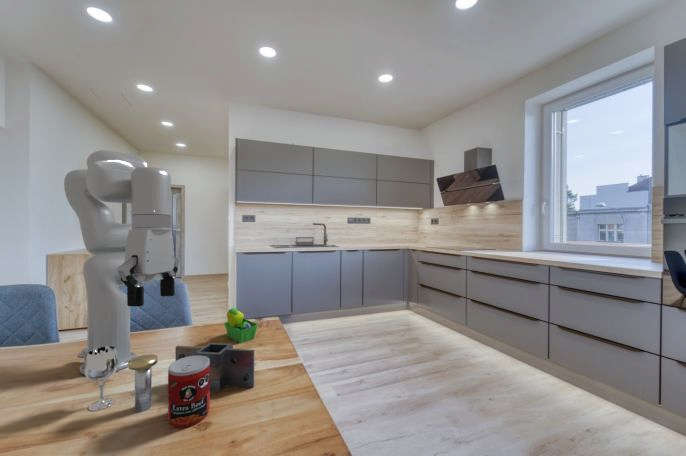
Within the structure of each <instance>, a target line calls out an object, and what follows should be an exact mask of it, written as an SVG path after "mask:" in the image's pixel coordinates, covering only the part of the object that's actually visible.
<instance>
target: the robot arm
mask: <svg viewBox="0 0 686 456" xmlns="http://www.w3.org/2000/svg"><path fill="white" fill-rule="evenodd" d="M86 166H87V169H75V170H74V169H73V170H70V171H69V172H68V173H66V174H65V176H64V181H63V187H64V193H65V197H66V200H67V202H68V204H69V206H70V207H71V208H72V210H73V211H74V213H75V214H76V217H77V218H78V221H79V226H80V230H81V235H82V240H83V244H84V246H85V250H86V251H87V252H88V253H89V254H91V255H92V256H90V257H88V258H87V259H86V260H85V261H84V263H83V266H82V273H83V279H84V284H85V288H86V299H87V301H86V302H87V307H86V308H87V310H86V311H87V347H84V348H83V349H82V350H81V352H79V353H78V354H77V358H78V359H84V360H83V363H82V364H81V365H80V367H79V372H80V373H81V374H82V375H84V376H86V375H85V371H84V368H85V362H86V358H87V355H88V352H89V351H91V350H93V349H96V348H100V347H105V346H113V347H115V349H116V352H117V356H118V367H117V370H116V371H115V372H118V371H121V370H123V369H125V368H129V361H130V360H132V359H133V358H136V357H138V356H137V354H136V353H135V352H133V351H131V307H143V306H145V295H144V294H145V293H144V292H145V288H144V286H143V285H142V284H144V283H150V282H152V281H154V280H155V279H157V277H158V275H160V277H161V279H160V280H159V281H160V282H159V283H160V286H159V287H160V293H159V295H160V296H161V297H173V296H175V295H176V294H175V291H176V290H175V282H176V281H175V279H176V278H177V272H178V269H179V264H180V261H181V260H180V259H179V258H178V257H176V256H175V245H174V238H173V233H172V178H171V174H170V173H169V171H167V170H165V169H163V168H158V167H151V166H150V167H149V164H148V161H146V159H145V158H143V157H142V156H140V155H136V154H131V153H124V152H118V151H113V150H106V149H104V150H102V149H101V150H97V151H94V152H92V153H90V154H89V155H88V157H87V159H86ZM105 203H115V204H130V206H131V210H130V211H131V213H130V214H131V217H130V218H131V220H130V221H131V223H119V222H117V220H116V218H115V214H114V212H113V210H112V209H111V208H110V207H109V206H107V205H106V204H105ZM120 287H124V288H126V293H125V292H123V291H122V290H121V288H120Z"/></svg>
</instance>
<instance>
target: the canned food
mask: <svg viewBox="0 0 686 456" xmlns="http://www.w3.org/2000/svg"><path fill="white" fill-rule="evenodd" d="M167 373H168V374H167V409H168V410H167V412H168V413H167V419H168V422H169V424H170V426H171V427H173V428H178V429H179V428H180V429H183V428H189V427H191V426H195V425H197V424H198V423H200V422H201V421H203V420H204V419H205V418H206V417H207V416H208V414H209V411H210V407H211V406H210V403H211V402H210V400H211V398H210V396H211V393H210V361H209V358H208V357H206V356H200V355H196V356H189V357H185V358H181V359H179V360H177V361H173V362H172V363H170V364H169V366H168V371H167Z"/></svg>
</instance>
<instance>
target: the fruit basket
mask: <svg viewBox="0 0 686 456" xmlns="http://www.w3.org/2000/svg"><path fill="white" fill-rule="evenodd" d="M226 317H227V321H225V322H223V325H224V326H225V330H226V333H227V337H228V338H230V339H232V340H235V341H236V342H238V343H240V344H243V343H246V342H249V341H251V340H254V339H255V336H256V332H257V329H258V327H259V324H258V323H256V322H253V321H251V320H248V319H247V318H244V317H245V316H244V313H243V312H241V310H240V311H239V310H237V308H236V307H231V308H229V309H228V311H227V313H226Z"/></svg>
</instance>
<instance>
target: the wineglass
mask: <svg viewBox="0 0 686 456" xmlns="http://www.w3.org/2000/svg"><path fill="white" fill-rule="evenodd" d="M117 367H118V356H117V352H116V349H115V347H113V346H105V347H100V348H96V349H93V350H91V351H89V352H88V355H87V358H86V362H85V368H84V371H85V375H84V376H85V377H86V379H87V380H90V381H93V382H94V381H95V382H98V387H99V393H100V396H99V400H97V401H95V402H92V403H91V404H90V405H89V406H88V411H91V412H96V411H101V410H104V409H106V408H109V407H111V406H112V405H113V404H115V399H114V398H104V389H105V388H104V387H105V380H106V379H108V378H110V377H111V376H112V375H114V374H115V373H116V372H117V371H116V370H117Z"/></svg>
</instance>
